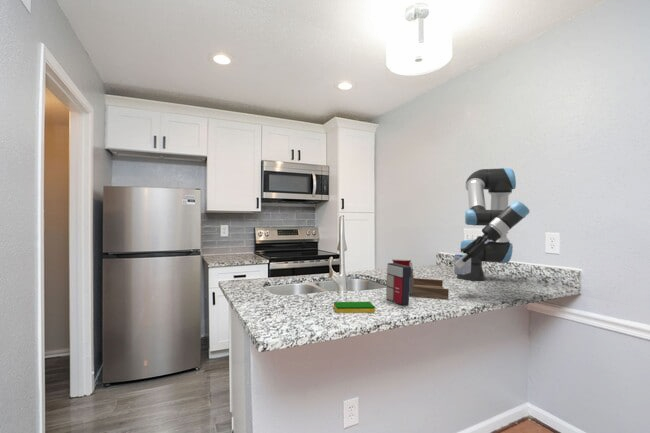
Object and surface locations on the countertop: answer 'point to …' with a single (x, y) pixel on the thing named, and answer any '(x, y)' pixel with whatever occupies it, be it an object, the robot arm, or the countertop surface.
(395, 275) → the grey and red box
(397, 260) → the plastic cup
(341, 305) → the dish sponge
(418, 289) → the wooden tray
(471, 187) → the robot arm
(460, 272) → the medicine box
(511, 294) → the countertop surface
